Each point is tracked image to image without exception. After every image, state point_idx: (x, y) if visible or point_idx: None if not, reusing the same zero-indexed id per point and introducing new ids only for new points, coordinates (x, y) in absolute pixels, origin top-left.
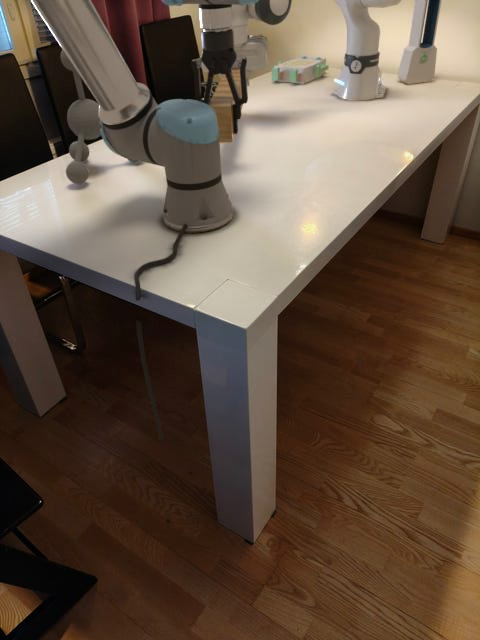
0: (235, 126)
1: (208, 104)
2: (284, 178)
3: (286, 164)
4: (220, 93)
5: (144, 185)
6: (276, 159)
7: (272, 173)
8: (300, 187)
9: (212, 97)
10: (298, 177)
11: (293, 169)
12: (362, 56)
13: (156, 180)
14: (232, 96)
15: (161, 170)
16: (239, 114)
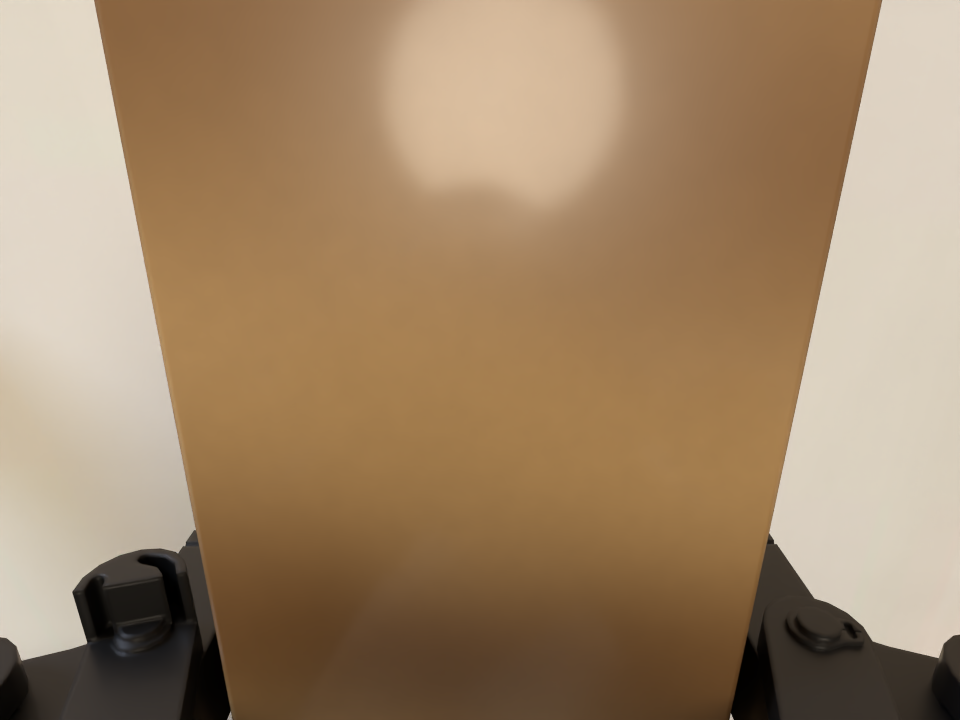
0: None
1: (212, 670)
2: (852, 530)
3: (923, 309)
4: (359, 256)
5: (29, 587)
6: (873, 199)
7: (794, 457)
8: (910, 636)
9: (224, 624)
10: (939, 520)
11: (946, 401)
12: None
13: (67, 527)
14: (727, 599)
15: (20, 375)
16: None
